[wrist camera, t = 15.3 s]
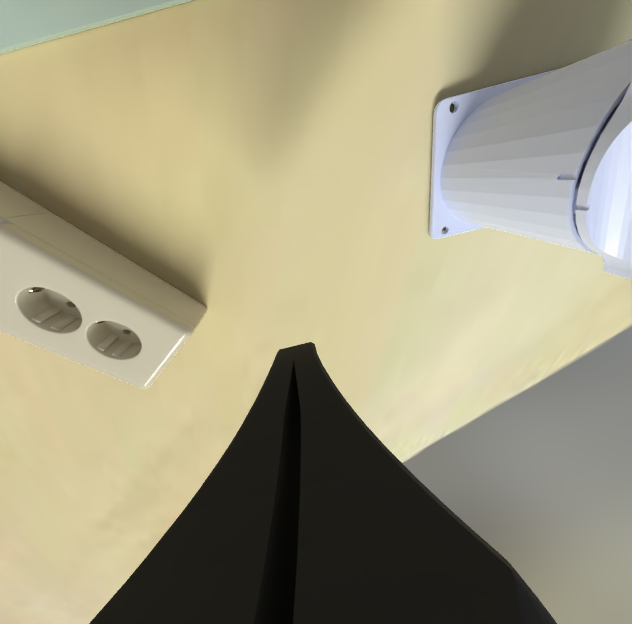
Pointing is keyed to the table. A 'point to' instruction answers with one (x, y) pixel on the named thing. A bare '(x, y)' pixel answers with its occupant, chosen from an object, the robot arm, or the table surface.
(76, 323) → the electrical outlet
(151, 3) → the sage mat
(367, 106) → the table surface
